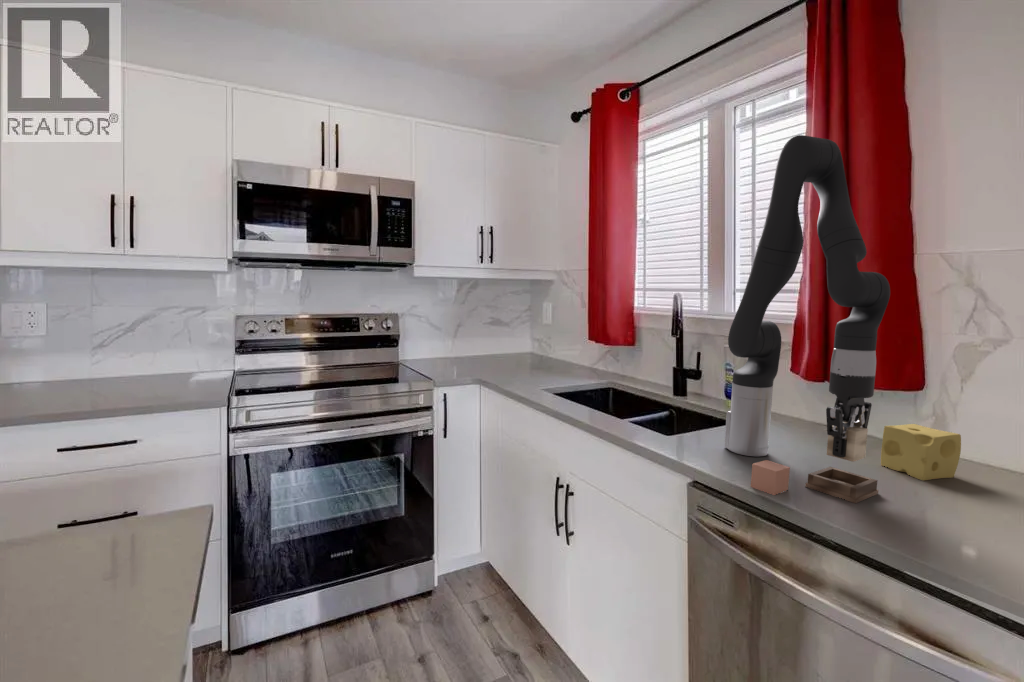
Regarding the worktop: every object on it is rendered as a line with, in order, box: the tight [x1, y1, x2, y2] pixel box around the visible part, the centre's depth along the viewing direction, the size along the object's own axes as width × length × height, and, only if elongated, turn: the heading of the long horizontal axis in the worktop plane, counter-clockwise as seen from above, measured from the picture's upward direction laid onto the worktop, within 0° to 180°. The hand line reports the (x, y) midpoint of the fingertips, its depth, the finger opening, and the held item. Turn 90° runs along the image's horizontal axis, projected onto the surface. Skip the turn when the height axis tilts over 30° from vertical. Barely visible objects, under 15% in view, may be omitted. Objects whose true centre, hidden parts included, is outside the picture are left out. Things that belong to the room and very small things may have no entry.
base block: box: [826, 425, 869, 463], centre depth 103 cm, size 5×5×6 cm
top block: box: [750, 459, 791, 496], centre depth 104 cm, size 5×5×5 cm
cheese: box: [880, 423, 962, 482], centre depth 117 cm, size 10×11×10 cm
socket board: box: [805, 466, 879, 504], centre depth 104 cm, size 10×10×3 cm
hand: (845, 453), depth 103 cm, fingers closed on base block, 5 cm apart
